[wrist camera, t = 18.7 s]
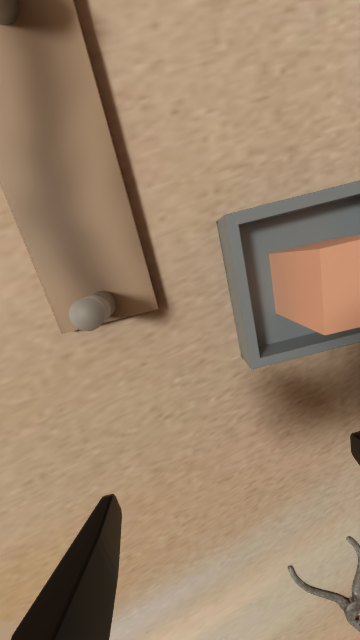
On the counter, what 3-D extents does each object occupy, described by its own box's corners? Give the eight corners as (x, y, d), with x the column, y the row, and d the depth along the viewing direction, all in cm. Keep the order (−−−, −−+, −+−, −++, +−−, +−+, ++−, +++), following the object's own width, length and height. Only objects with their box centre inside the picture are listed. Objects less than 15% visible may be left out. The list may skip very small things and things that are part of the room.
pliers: (344, 532, 27) (420, 601, 31) (339, 524, 27) (413, 592, 32) (282, 575, 28) (363, 635, 32) (278, 566, 29) (358, 626, 33)
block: (329, 239, 18) (410, 227, 12) (332, 299, 19) (406, 315, 13) (268, 253, 18) (319, 249, 12) (275, 313, 19) (324, 335, 13)
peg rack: (66, -29, 13) (8, -198, 8) (158, 306, 19) (156, 322, 14) (-64, 5, 13) (-197, -145, 8) (67, 330, 19) (32, 353, 14)
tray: (363, 184, 17) (395, 171, 15) (366, 325, 20) (393, 333, 18) (216, 221, 17) (224, 214, 15) (241, 356, 20) (251, 369, 18)
